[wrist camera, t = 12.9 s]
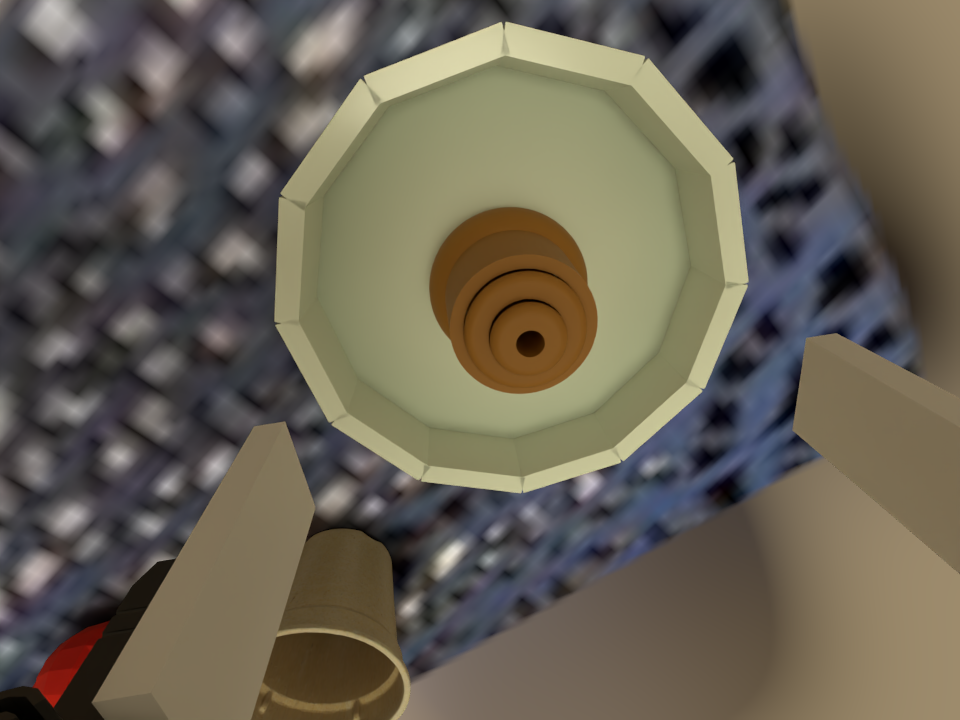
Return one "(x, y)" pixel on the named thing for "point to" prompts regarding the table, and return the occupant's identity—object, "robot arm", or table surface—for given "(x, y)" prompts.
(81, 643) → the tomato
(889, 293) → the table surface
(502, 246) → the ornamental finial
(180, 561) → the robot arm
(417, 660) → the table surface
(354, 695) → the flower pot
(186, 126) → the table surface
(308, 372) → the bowl
